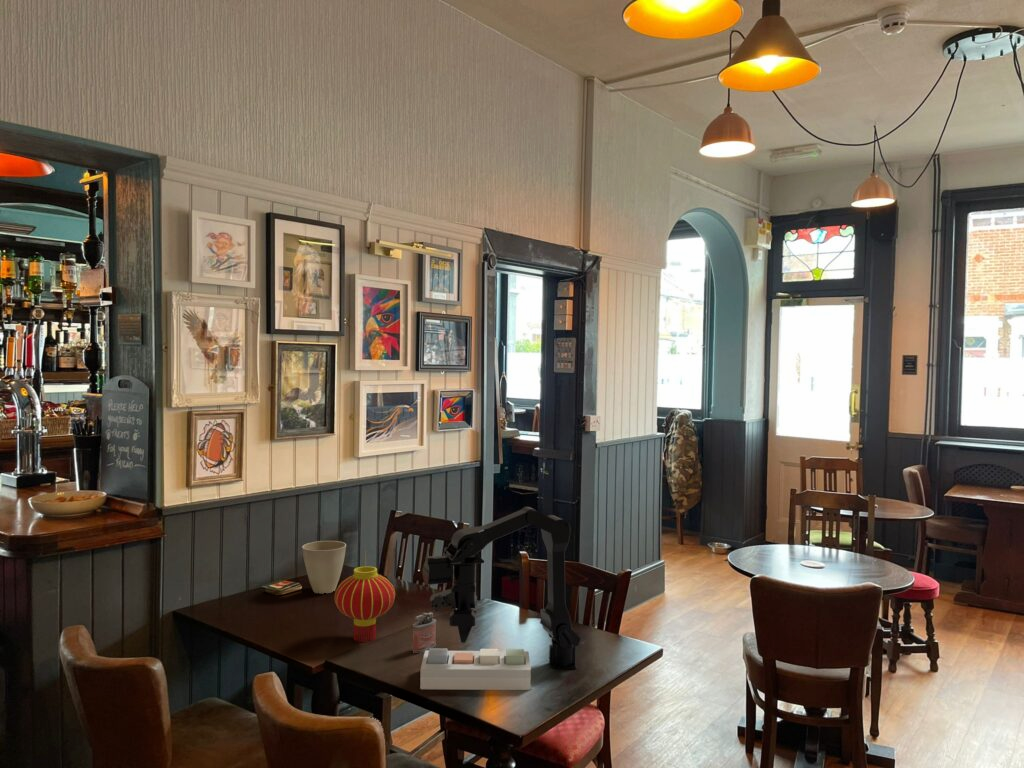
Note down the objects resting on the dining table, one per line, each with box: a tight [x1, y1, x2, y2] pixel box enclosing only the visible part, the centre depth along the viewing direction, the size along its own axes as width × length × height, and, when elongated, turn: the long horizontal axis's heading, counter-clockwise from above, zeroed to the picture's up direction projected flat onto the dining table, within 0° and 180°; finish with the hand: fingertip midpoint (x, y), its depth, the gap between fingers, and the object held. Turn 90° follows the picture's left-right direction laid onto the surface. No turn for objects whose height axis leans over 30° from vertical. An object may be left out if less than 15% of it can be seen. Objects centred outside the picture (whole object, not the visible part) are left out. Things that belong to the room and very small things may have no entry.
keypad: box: [419, 650, 532, 691], centre depth 191 cm, size 27×12×5 cm, turn 91°
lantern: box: [334, 551, 396, 643], centre depth 218 cm, size 17×17×30 cm
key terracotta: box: [454, 653, 473, 664], centre depth 191 cm, size 5×5×2 cm
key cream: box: [479, 648, 499, 664], centre depth 191 cm, size 5×5×2 cm
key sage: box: [505, 648, 525, 665], centre depth 191 cm, size 5×5×2 cm
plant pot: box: [301, 540, 347, 595], centre depth 263 cm, size 15×15×16 cm
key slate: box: [428, 647, 449, 664], centre depth 191 cm, size 5×5×2 cm
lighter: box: [411, 612, 437, 654], centre depth 211 cm, size 8×3×10 cm, turn 141°
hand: (463, 642), depth 191 cm, fingers closed
